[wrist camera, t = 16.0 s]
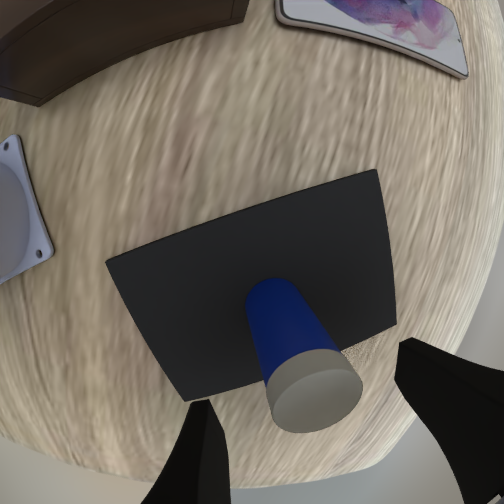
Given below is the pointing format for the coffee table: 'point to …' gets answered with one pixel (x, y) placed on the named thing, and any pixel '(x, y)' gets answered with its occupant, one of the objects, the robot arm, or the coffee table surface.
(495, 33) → the coffee table surface
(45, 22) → the cabinet
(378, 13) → the smartphone
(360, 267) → the mat
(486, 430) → the robot arm
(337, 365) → the blue pill bottle
